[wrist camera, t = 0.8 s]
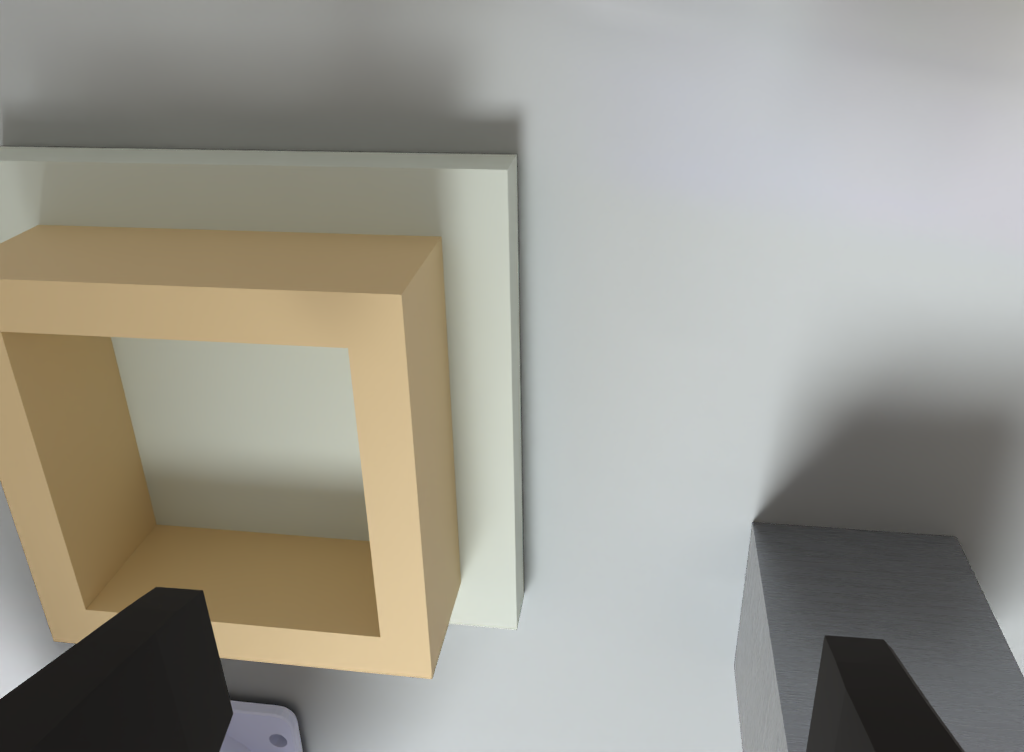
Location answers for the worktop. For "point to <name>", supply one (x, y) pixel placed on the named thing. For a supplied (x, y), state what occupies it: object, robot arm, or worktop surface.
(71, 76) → the worktop surface
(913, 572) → the speaker box
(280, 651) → the frame
